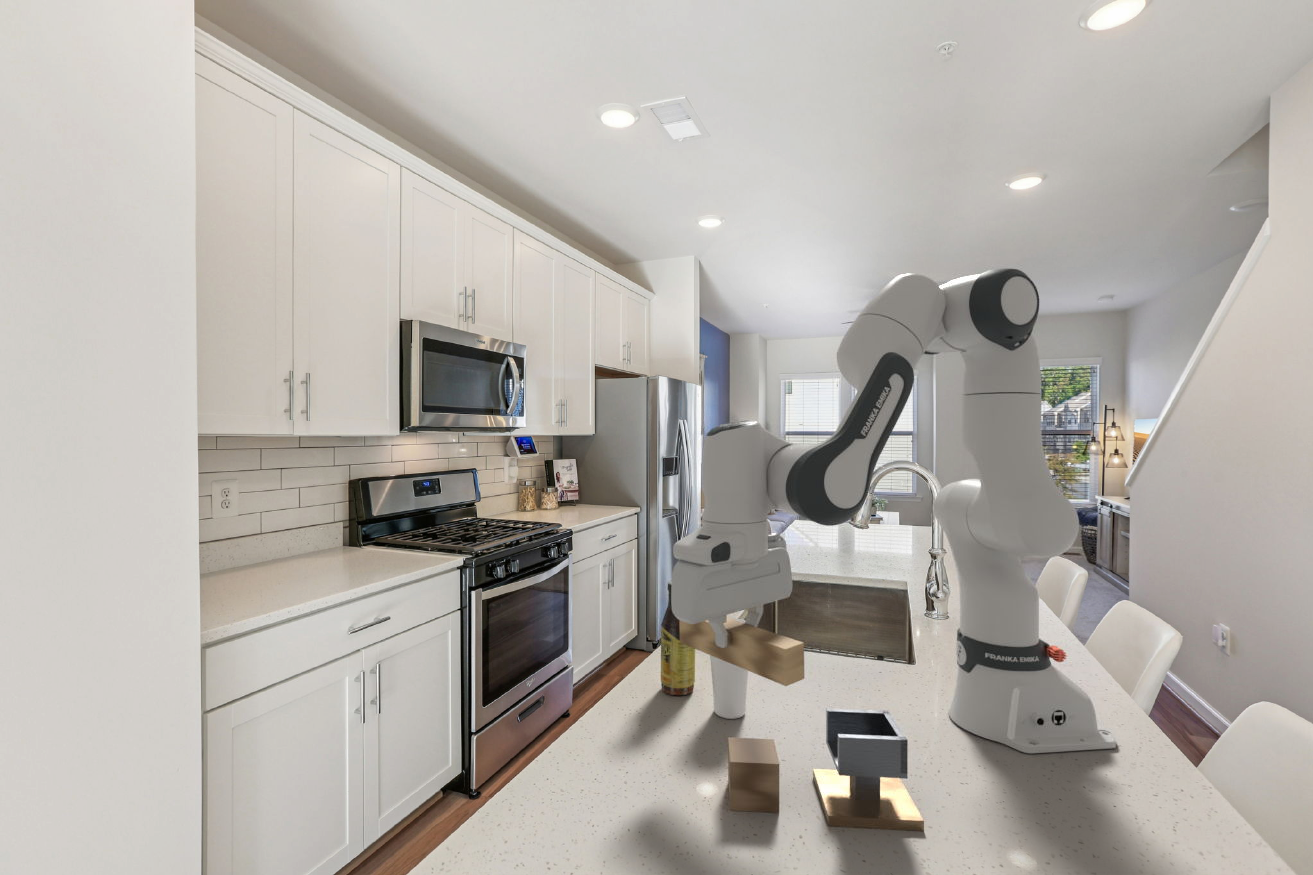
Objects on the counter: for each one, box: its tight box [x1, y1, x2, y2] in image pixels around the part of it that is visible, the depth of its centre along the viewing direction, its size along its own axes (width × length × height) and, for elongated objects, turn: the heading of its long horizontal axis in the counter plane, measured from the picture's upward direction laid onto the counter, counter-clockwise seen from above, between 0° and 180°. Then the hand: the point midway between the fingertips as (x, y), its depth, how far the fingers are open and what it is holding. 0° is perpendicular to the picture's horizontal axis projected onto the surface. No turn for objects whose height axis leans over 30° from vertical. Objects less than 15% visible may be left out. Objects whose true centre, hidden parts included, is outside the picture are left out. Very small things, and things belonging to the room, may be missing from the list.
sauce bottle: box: [660, 579, 696, 696], centre depth 108 cm, size 7×6×20 cm
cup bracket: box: [812, 708, 925, 832], centre depth 75 cm, size 11×10×10 cm
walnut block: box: [727, 736, 780, 814], centre depth 76 cm, size 6×6×6 cm
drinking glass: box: [709, 617, 749, 720], centre depth 99 cm, size 7×7×15 cm
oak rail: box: [679, 617, 805, 687], centre depth 81 cm, size 20×4×4 cm, turn 38°
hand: (736, 641), depth 81 cm, fingers closed on oak rail, 3 cm apart
